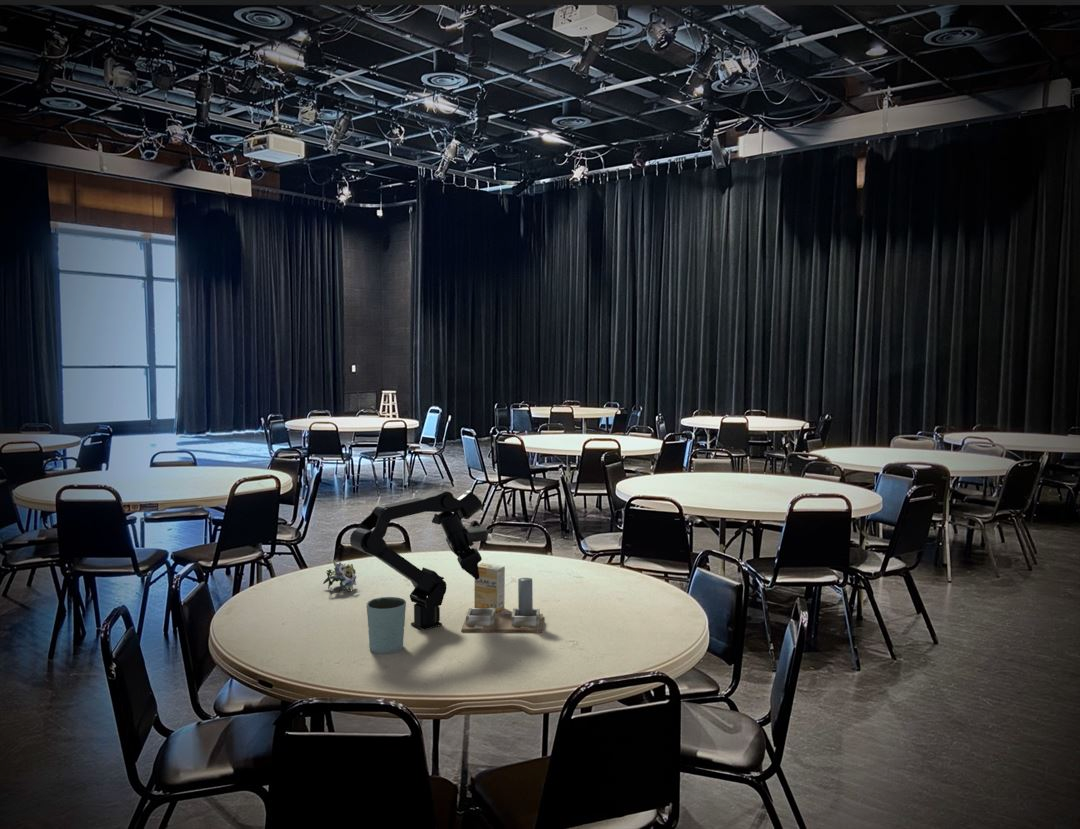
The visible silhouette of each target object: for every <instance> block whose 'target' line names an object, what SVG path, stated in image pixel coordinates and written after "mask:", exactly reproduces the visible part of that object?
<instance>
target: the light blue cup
mask: <svg viewBox="0 0 1080 829" xmlns="http://www.w3.org/2000/svg"><path fill="white" fill-rule="evenodd" d="M406 606H407V601H406V600H405V599H404V598H403V597H402V598H401V597H395V596H383V597H377V598H372V599H370V600H368V601H367V602H366V606H365V607H366V616H367V627H368V648H369V651H370V652H372V653H374V654H382V655H383V654H384V655H385V654H392V653H396V652H399V651H401V650H402V649H403V648H404V638H405V629H404V628H405V623H406V622H405V621H406V610H407V609H406V608H407V607H406Z"/></svg>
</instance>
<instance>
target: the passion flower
mask: <svg viewBox="0 0 1080 829" xmlns="http://www.w3.org/2000/svg"><path fill="white" fill-rule="evenodd" d="M332 563H333V566H334V568H333V569H334V570H333V569H330V568H329V569H328V570H326V572H325V573H326V575H327V576H326V578H325V580H323V585H324V584H326V583H328V584H327V588H328V589H330V587H331V586H333V584H334V582H336V583H337V582H339V586H340V587H341V588H343V589H344V590H345V591H346V592H348V591H349V592H351V590H353V591H354V587H353V586H357V581H356V579H357V578H358V577H357V575H356V574H357V573H356V569H355V568H354V565H353V563H350V564H349V563H347V564H346V563H342V562H341V561H340V562H336V560H333V561H332ZM328 589H327V590H328Z"/></svg>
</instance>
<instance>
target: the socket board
mask: <svg viewBox="0 0 1080 829" xmlns="http://www.w3.org/2000/svg"><path fill="white" fill-rule="evenodd" d="M540 609H541V608H533V616H519V608H513V609H512V612H511V613H497V612H496V608H474V607H469V608H468V611H467V612H466V615H465V619H464V622H463V625H462V627H461V632H462V633H464V632H465V633H538V634H540V633H541V634H542V631H543V620H544V614H543V613H541V610H540Z"/></svg>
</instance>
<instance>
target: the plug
mask: <svg viewBox="0 0 1080 829" xmlns="http://www.w3.org/2000/svg"><path fill="white" fill-rule="evenodd" d="M517 585H518V587H517V588H518V589H517V593H518V594H517V595H518V596H517V599H518V600H517V601H518V605H517V606H518V608H517V609H519V616H533V609H534V608H533V606H534V605H533V603H534V601H533V600H534V598H533V594H534V593H533V578H532V577H519V578H518V580H517Z"/></svg>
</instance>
